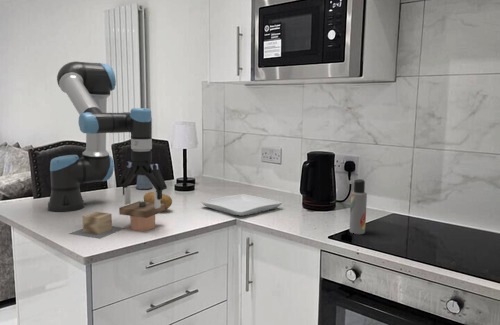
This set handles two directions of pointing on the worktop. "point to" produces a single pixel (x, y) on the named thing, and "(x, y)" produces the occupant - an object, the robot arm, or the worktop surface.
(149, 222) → the bowl
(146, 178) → the moka pot
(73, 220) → the worktop surface
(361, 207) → the lotion bottle
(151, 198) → the potato
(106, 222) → the pedestal
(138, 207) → the lid
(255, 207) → the square plate
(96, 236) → the mat
